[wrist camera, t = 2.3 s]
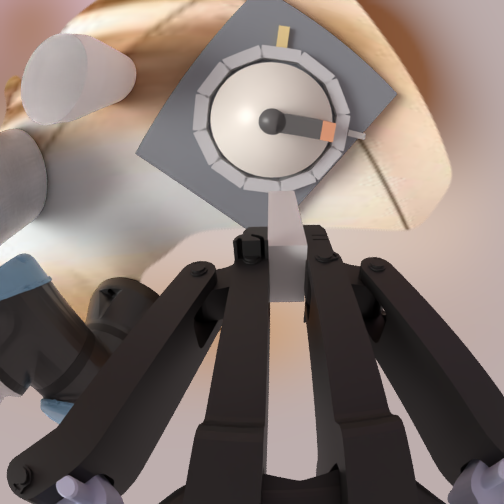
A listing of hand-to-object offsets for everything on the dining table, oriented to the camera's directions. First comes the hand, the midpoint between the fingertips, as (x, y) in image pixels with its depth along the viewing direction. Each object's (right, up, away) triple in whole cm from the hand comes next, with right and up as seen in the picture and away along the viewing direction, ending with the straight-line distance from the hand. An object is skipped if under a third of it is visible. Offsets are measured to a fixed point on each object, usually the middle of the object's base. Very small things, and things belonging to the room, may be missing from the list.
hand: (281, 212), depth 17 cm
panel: (0, +13, +12) cm, 17 cm away
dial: (0, +12, +11) cm, 16 cm away
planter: (-39, +10, +16) cm, 43 cm away
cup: (-18, +19, +9) cm, 28 cm away
